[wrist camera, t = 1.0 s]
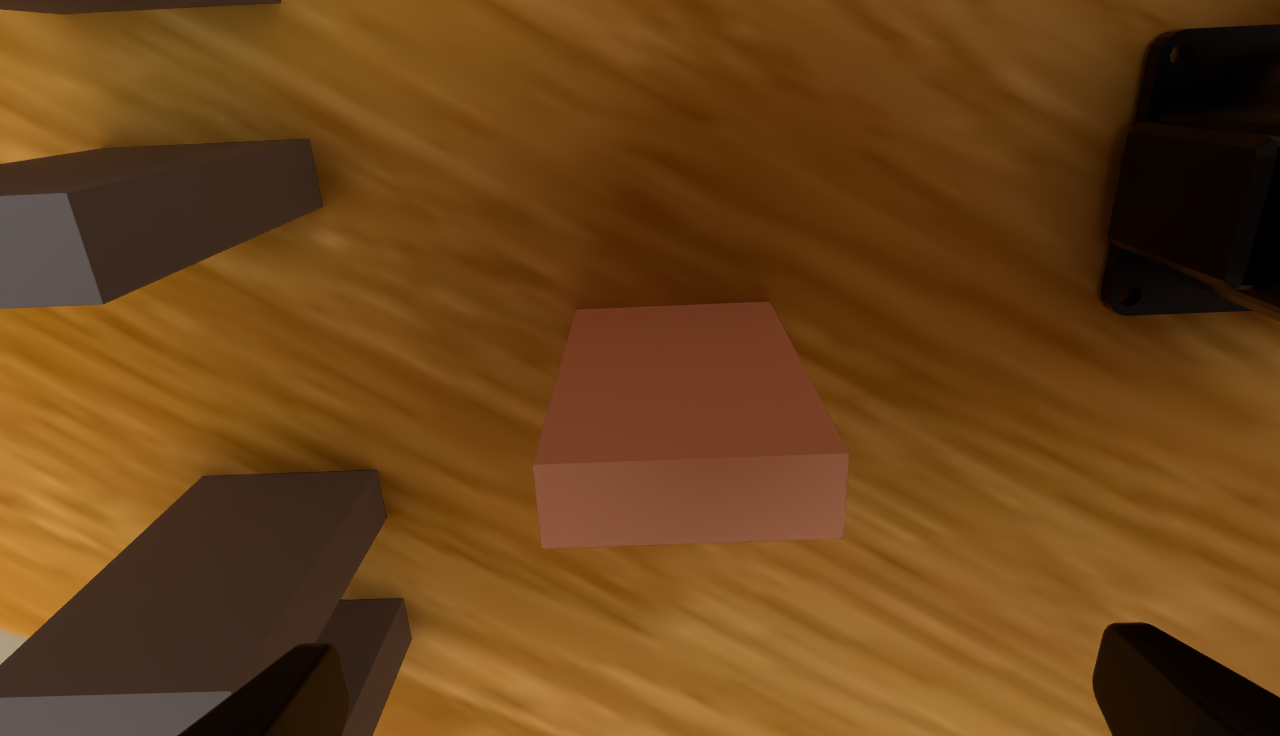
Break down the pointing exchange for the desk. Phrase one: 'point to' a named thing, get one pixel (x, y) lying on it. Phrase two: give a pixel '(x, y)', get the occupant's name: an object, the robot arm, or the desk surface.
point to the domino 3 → (194, 606)
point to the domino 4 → (368, 655)
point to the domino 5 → (686, 433)
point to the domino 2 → (140, 214)
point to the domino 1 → (115, 5)
